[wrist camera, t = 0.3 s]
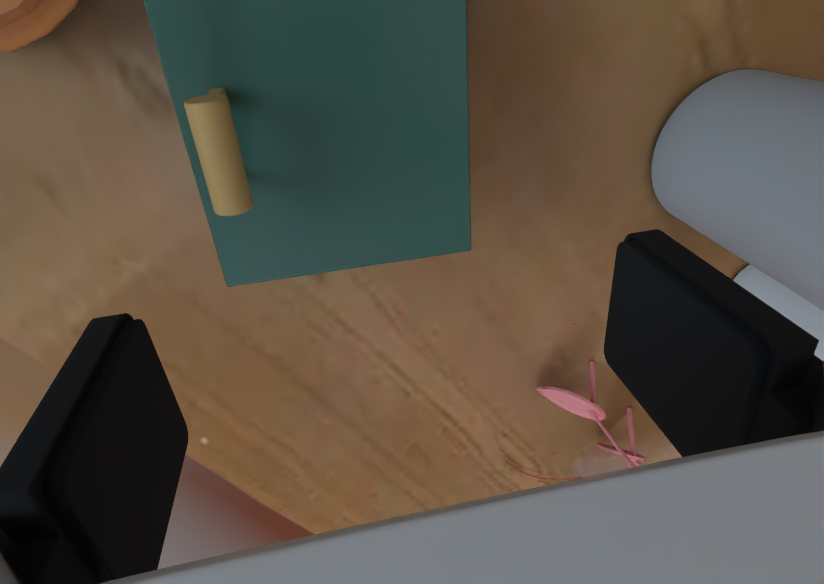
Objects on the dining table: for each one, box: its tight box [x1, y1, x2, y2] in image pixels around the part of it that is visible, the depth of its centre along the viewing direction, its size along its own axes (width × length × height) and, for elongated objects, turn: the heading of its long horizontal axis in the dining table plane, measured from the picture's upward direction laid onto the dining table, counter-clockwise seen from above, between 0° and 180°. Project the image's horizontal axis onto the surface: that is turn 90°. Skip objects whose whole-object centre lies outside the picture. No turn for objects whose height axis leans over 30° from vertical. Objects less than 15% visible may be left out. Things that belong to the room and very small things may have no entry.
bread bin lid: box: [143, 0, 471, 287], centre depth 26 cm, size 15×17×5 cm
